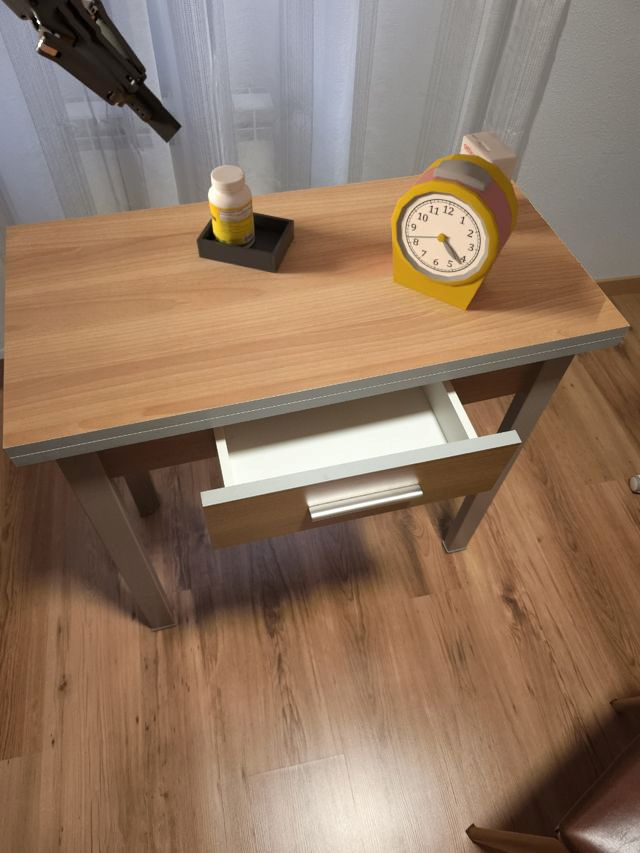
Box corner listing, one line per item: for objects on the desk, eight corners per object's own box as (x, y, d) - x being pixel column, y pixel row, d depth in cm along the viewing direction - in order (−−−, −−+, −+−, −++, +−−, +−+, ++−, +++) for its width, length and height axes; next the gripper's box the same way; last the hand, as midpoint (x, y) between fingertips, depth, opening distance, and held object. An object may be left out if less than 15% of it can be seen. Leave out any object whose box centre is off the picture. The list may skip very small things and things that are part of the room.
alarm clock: (380, 280, 84) (398, 160, 69) (404, 251, 88) (425, 132, 73) (474, 317, 80) (515, 199, 65) (494, 285, 84) (536, 166, 69)
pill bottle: (217, 228, 89) (208, 160, 80) (256, 229, 89) (251, 162, 80) (212, 253, 86) (202, 185, 77) (253, 254, 86) (248, 186, 77)
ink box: (498, 226, 93) (521, 156, 83) (471, 232, 92) (491, 162, 82) (472, 197, 97) (491, 128, 88) (446, 203, 96) (462, 133, 87)
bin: (199, 257, 86) (196, 239, 83) (221, 222, 91) (219, 205, 89) (275, 273, 84) (275, 256, 82) (294, 237, 89) (294, 219, 87)
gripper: (33, -28, 71) (179, 128, 82) (-32, 9, 64) (139, 175, 75) (56, -79, 66) (208, 95, 77) (-12, -44, 59) (168, 142, 70)
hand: (174, 134), depth 76 cm, fingers closed
